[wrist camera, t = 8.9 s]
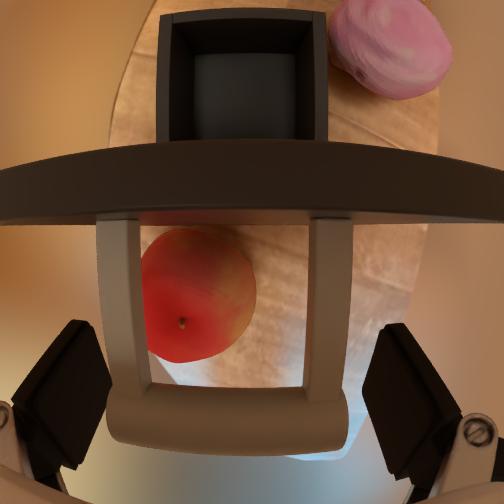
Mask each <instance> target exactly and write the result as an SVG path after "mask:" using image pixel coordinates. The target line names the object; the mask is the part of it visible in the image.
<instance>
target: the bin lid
mask: <svg viewBox="0 0 504 504" xmlns="http://www.w3.org/2000/svg"><path fill="white" fill-rule="evenodd" d="M421 223H504V171H502V170H499V169H495V168H491V167H487V166H483V165H479V164H475V163H471V162H466V161H462V160H457V159H452V158H447V157H443V156H438V155H432V154H427V153H421V152H415V151H409V150H402V149H395V148H388V147H380V146H372V145H363V144H353V143H343V142H330V141H315V140H296V139H205V140H186V141H171V142H159V143H148V144H138V145H129V146H121V147H113V148H106V149H99V150H93V151H87V152H80V153H75V154H69V155H64V156H59V157H54V158H49V159H44V160H39V161H35V162H31V163H27V164H23V165H18V166H14V167H10V168H7V169H3V170H0V226H6V225H96V245H97V269H98V283H99V296H100V306H101V315H102V323H103V330H104V338H105V345H106V351H107V357H108V363H109V368H110V374H111V379H112V383H113V386H112V387H111V389H110V392H109V395H108V398H107V404H106V421H107V426H108V430H109V432H110V434H111V436H112V437H113V438H114V439H115V440H116V441H118V442H122V443H126V444H131V445H136V446H142V447H147V448H153V449H161V450H168V451H175V452H184V453H194V454H206V455H224V456H281V455H298V454H310V453H320V452H328V451H336V450H339V449H341V448H342V447H343V446H344V444H345V442H346V439H347V434H348V426H349V415H348V406H347V401H346V398H345V394H344V392H343V390H342V388H341V387H342V380H343V373H344V365H345V356H346V348H347V338H348V327H349V315H350V302H351V285H352V263H353V225H365V224H421ZM178 225H309V268H308V300H307V323H306V342H305V357H304V372H303V385H302V386H301V387H277V388H227V387H202V386H187V385H174V384H162V383H154V382H152V379H151V372H150V365H149V356H148V348H147V339H146V330H145V319H144V307H143V293H142V275H141V247H140V226H178Z"/></svg>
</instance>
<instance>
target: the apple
mask: <svg viewBox="0 0 504 504" xmlns="http://www.w3.org/2000/svg"><path fill="white" fill-rule="evenodd" d="M141 275H142V293H143V307H144V319H145V330H146V339H147V348H148V350H149V351H151V352H152V353H154V354H155V355H157V356H159V357H160V358H162V359H164V360H167V361H169V362H173V363H186V362H192V361H197V360H201V359H205V358H209V357H212V356H214V355H217V354H219V353H221V352H223V351H224V350H226V349H227V348H229V347H230V346H231V345H232V344H233V343H234V342H235V341H236V340H237V339H238V338H239V337H240V336H241V334H242V333H243V332H244V331H245V330H246V328H247V326H248V325H249V323H250V321H251V318H252V316H253V313H254V309H255V303H256V281H255V276H254V273H253V270H252V268H251V265H250V264H249V262H248V261H247V259H246V258H245V257H244V256H243V255H242V254H241V253H240V252H239V251H238V250H237V249H235V248H234V247H233V246H231V245H230V244H228V243H226V242H224V241H223V240H221V239H219V238H216V237H214V236H212V235H209V234H206V233H203V232H200V231H195V230H187V229H181V230H173V231H170V232H167V233H165V234H163V235H162V236H160V237H158V238H157V239H156V240H155V241H154V242H153V243H152V244H151V245H150V246H149V247H148V249H147V250H146V251H145V253H144V254H143V256H142V258H141Z"/></svg>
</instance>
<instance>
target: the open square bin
mask: <svg viewBox="0 0 504 504" xmlns="http://www.w3.org/2000/svg"><path fill="white" fill-rule="evenodd" d="M205 139H296V140H315V141H328V57H327V34H326V17H325V13H324V12H316V11H307V10H296V9H282V8H221V9H206V10H195V11H186V12H178V13H171V14H165V15H160V22H159V36H158V52H157V77H156V143H159V142H171V141H186V140H205Z"/></svg>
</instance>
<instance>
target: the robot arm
mask: <svg viewBox="0 0 504 504" xmlns="http://www.w3.org/2000/svg"><path fill="white" fill-rule="evenodd" d="M112 386H113V383H112V379H111V375H110V373H109V370H108V368H107V365H106V362H105V360H104V357H103V354H102V351H101V348H100V346H99V343H98V340H97V337H96V334H95V330H94V328H93V327H92V326H90V324H89V323H88V322H87V321H83V320H75V319H73V320H71V321H70V322H69V323H68V324H67V325H66V327H65V328H64V329H63V330H62V331H61V333H60V334H59V335H58V336H57V338H56V339H55V340H54V341H53V343H52V344H51V345H50V346H49V348H48V349H47V350H46V351H45V353H44V354H43V355H42V357H41V358H40V359H39V361H38V362H37V363H36V365H35V366H34V367H33V369H32V370H31V371H30V373H29V374H28V375H27V377H26V378H25V379H24V381H23V382H22V384H21V385H20V386H19V388H18V389H17V391H16V392H15V394H14V395H13V397H12V398H11V400H12V402H13V403H14V405H13V406H12V407H11V406H10V405H9V404H8V403H6V402H5V401H0V504H92V503H89V502H86V501H83V500H80V499H78V498H75V497H72V496H70V495H69V494H68V491H67V489H66V486H65V483H64V481H63V478H62V475H61V473H60V467H61V465H63V466H64V467H67V468H70V469H72V470H75V471H76V469H77V467H78V464H82V462H83V461H84V458H85V456H86V453H87V451H88V448H89V446H90V444H91V441H92V439H93V436H94V434H95V431H96V429H97V427H98V425H99V422H100V420H101V418H102V415H103V413H104V411H105V409H106V404H107V398H108V395H109V392H110V389H111V387H112ZM362 396H363V399H364V402H365V404H366V407H367V410H368V413H369V415H370V418H371V421H372V424H373V427H374V430H375V433H376V435H377V438H378V441H379V444H380V447H381V450H382V453H383V456H384V459H385V462H386V465H387V469H388V471H389V472H390V474H394V476H395V479H396V481H397V480H400V479H404V478H407V477H409V478H410V481H411V484H412V485H411V487H410V489H409V491H408V493H407V495H406V497H405V499H404V501H403V503H402V504H504V439H503V438H500V437H498V429H497V426H496V424H495V423H494V421H493V420H492V419H491V418H490V417H488V416H487V415H484V414H481V413H471V414H468V415H466V416H465V417H464V418H463V416H462V415H461V410H460V408H459V406H458V405H457V403H456V401H455V400H454V398H453V396H452V395H451V393H450V391H449V390H448V389H447V387H446V385H445V384H444V382H443V380H442V379H441V377H440V376H439V374H438V373H437V371H436V369H435V368H434V367H433V365H432V363H431V362H430V360H429V359H428V357H427V356H426V355H425V353H424V351H423V350H422V348H421V347H420V346H419V344H418V343H417V341H416V340H415V339H414V337H413V335H412V334H411V333H410V331H409V330H408V328H407V327H406V326H405V324H404V323H394V324H387V325H385V327H384V329H381V330H380V332H379V335H378V338H377V342H376V345H375V349H374V352H373V355H372V359H371V362H370V365H369V368H368V371H367V374H366V377H365V380H364V383H363V386H362Z"/></svg>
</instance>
